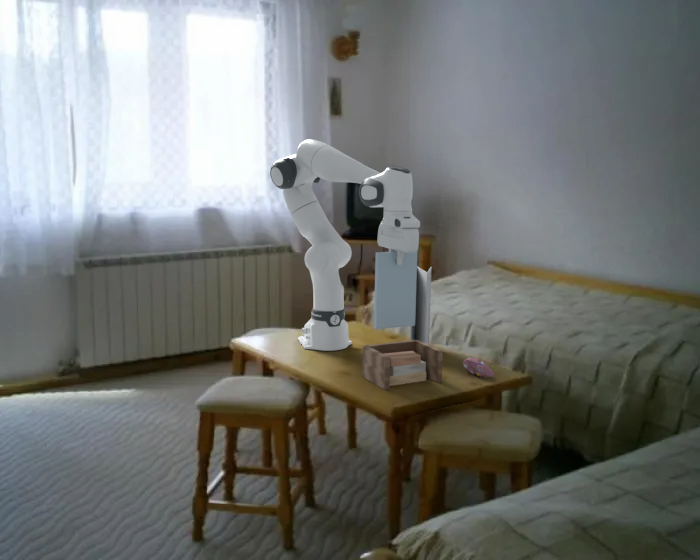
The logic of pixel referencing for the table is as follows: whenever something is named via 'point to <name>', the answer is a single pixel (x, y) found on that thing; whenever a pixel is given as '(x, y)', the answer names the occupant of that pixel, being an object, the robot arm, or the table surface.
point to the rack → (379, 363)
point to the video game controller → (477, 367)
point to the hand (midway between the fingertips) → (396, 264)
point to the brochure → (422, 307)
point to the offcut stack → (406, 368)
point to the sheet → (395, 290)
